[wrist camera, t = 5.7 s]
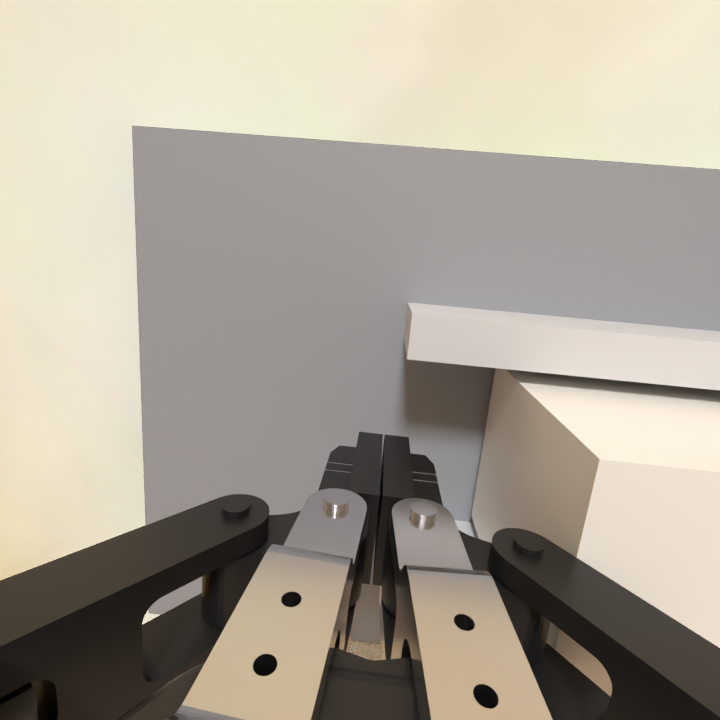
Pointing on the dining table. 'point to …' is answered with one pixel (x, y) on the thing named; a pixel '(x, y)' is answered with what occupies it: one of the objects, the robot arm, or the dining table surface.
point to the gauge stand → (393, 304)
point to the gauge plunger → (610, 488)
